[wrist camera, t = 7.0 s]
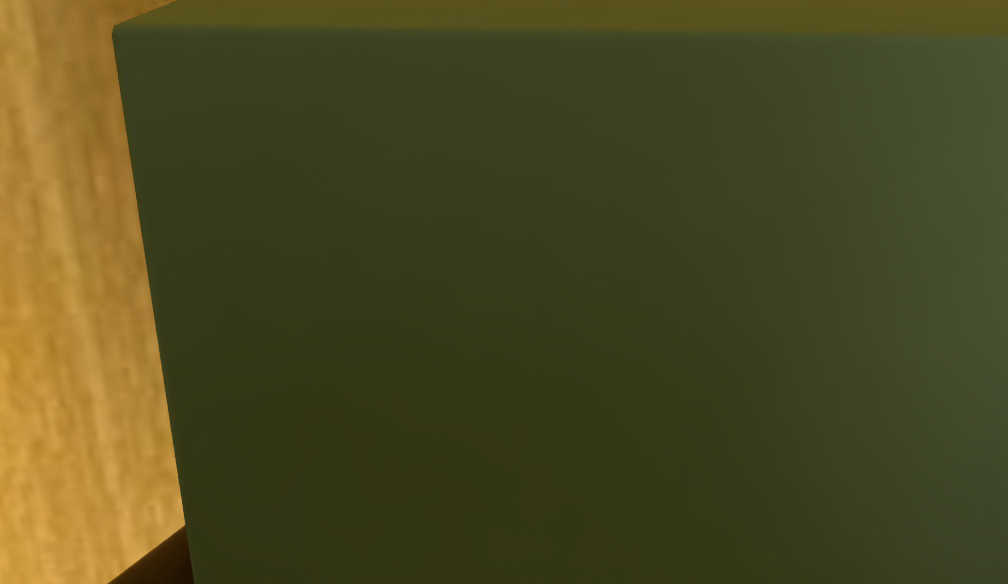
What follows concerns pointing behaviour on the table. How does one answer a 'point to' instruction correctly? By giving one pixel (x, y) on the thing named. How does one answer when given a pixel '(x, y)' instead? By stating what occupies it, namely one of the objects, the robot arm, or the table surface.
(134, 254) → the table surface
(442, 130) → the green block
